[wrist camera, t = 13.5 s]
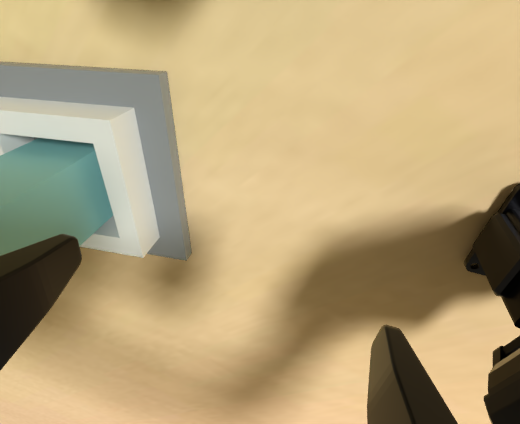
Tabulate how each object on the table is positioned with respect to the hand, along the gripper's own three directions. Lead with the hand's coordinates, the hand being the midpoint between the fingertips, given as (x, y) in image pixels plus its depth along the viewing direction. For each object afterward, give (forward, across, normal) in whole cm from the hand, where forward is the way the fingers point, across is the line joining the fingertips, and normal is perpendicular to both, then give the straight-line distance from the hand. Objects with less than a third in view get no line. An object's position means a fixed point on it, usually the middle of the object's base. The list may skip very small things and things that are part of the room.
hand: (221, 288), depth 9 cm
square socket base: (+13, +14, +6) cm, 20 cm away
